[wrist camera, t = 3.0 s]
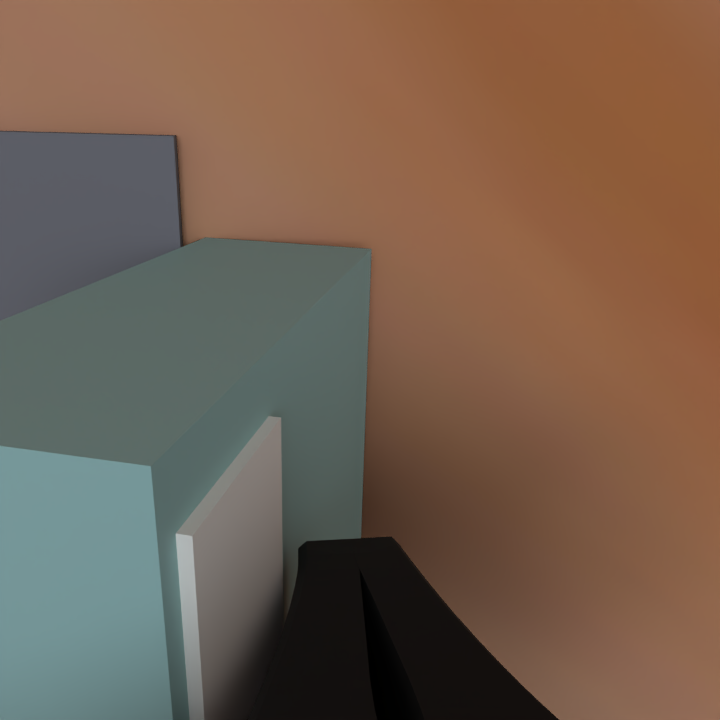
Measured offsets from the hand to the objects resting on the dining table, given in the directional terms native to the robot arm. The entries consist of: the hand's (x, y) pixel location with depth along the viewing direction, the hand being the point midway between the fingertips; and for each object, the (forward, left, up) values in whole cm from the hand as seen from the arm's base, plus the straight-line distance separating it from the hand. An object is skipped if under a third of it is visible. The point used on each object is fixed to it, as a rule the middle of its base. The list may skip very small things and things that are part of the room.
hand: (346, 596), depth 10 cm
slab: (0, +1, -6) cm, 6 cm away
